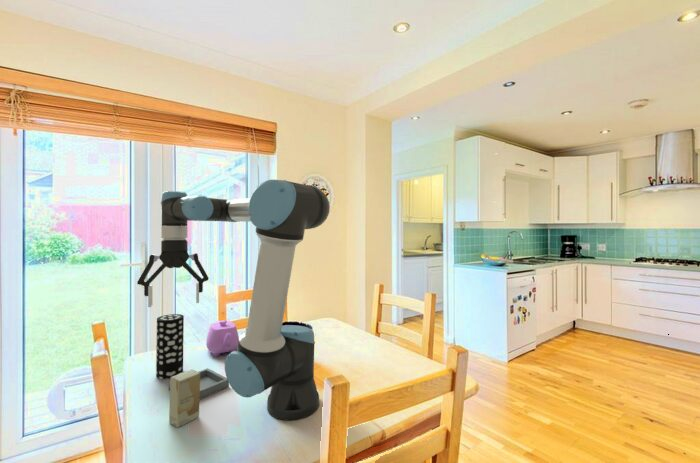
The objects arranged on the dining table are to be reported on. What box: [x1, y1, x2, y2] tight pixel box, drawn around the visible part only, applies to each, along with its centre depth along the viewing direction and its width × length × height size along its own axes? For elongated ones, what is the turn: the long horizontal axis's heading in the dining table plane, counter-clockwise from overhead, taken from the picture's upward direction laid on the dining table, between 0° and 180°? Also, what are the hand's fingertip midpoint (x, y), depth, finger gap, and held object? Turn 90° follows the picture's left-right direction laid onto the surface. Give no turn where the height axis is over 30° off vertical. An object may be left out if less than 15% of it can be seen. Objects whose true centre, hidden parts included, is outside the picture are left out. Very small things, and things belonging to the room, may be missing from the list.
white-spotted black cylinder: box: [155, 313, 185, 380], centre depth 113 cm, size 8×8×20 cm
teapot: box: [205, 319, 240, 357], centre depth 134 cm, size 20×12×13 cm, turn 33°
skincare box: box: [168, 369, 200, 428], centre depth 87 cm, size 6×4×12 cm
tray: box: [168, 367, 230, 401], centre depth 103 cm, size 13×13×2 cm
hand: (174, 304), depth 104 cm, fingers open, 13 cm apart
